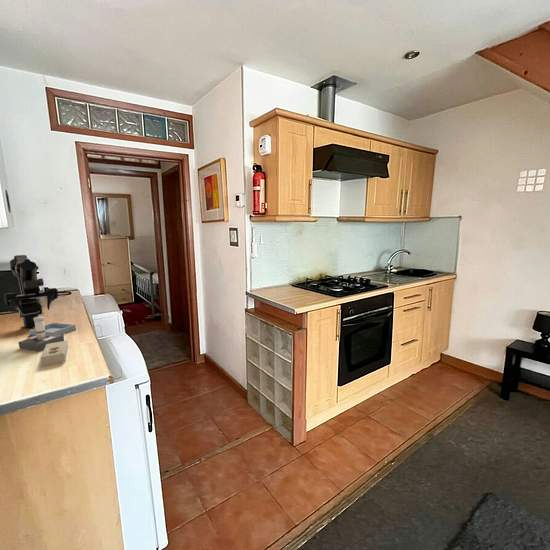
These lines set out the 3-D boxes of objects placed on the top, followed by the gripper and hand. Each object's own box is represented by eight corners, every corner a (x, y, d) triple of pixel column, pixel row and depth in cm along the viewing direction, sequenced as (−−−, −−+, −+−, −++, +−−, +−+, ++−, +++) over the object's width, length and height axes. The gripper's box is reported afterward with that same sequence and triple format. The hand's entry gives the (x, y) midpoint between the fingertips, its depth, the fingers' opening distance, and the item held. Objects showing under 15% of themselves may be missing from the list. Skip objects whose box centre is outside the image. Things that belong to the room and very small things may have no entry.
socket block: (19, 348, 125) (18, 341, 125) (45, 339, 136) (44, 332, 135) (39, 351, 122) (38, 343, 122) (64, 341, 133) (63, 334, 132)
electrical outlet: (67, 338, 127) (64, 353, 111) (68, 347, 127) (65, 363, 112) (46, 341, 123) (40, 357, 108) (47, 351, 123) (41, 368, 108)
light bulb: (35, 346, 128) (31, 318, 126) (43, 343, 131) (39, 315, 129) (41, 347, 127) (37, 318, 125) (49, 343, 130) (46, 316, 128)
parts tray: (29, 335, 141) (29, 330, 141) (54, 327, 153) (53, 322, 152) (52, 337, 138) (52, 332, 137) (75, 329, 149) (75, 324, 149)
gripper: (1, 275, 127) (6, 305, 121) (54, 271, 140) (62, 297, 134) (3, 291, 134) (8, 319, 128) (53, 285, 147) (60, 311, 141)
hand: (35, 311), depth 132 cm, fingers open, 9 cm apart
